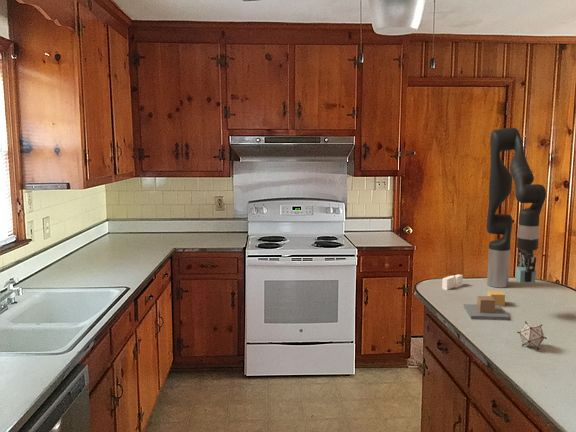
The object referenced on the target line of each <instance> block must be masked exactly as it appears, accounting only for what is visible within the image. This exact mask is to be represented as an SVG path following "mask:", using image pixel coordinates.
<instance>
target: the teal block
mask: <svg viewBox="0 0 576 432" xmlns="http://www.w3.org/2000/svg"><path fill="white" fill-rule="evenodd" d="M515 269H516V270H515V280H516V281H517V282H518V283H519V284H536V274H537V271H536V269H535V271H534V272H532V276H531V282H526V281H525V267H519V266H516V268H515ZM529 269H530V268H529Z"/></svg>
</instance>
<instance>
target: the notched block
mask: <svg viewBox="0 0 576 432" xmlns="http://www.w3.org/2000/svg"><path fill="white" fill-rule="evenodd" d="M463 276H464V275H463V274H459V273H458V274H455V275H447V276H445V277H443V278H442V281H441V282H442V285H441V286H442V288H441V289H442V290H445V291H448V290H450V289H452V288H453V289H454V288H459V287H462V286H463Z"/></svg>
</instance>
